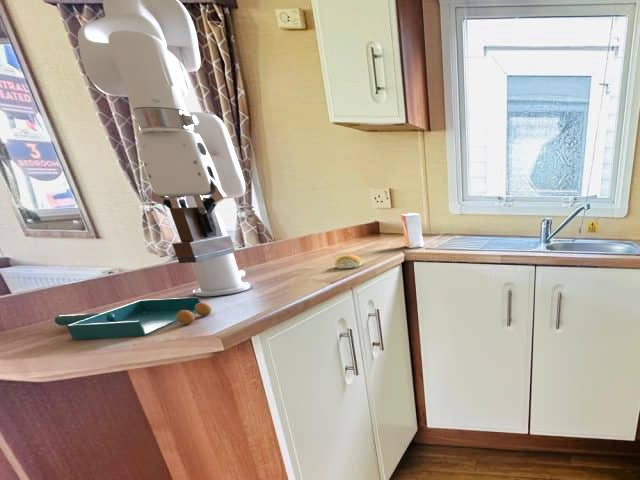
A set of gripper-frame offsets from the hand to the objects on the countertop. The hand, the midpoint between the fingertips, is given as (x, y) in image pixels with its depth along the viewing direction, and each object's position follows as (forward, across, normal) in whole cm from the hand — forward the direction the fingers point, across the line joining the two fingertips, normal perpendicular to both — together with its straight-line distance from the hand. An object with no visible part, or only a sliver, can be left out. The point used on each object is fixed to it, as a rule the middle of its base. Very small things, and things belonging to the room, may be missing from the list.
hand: (202, 236), depth 80 cm
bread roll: (+15, -10, -58) cm, 61 cm away
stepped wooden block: (+4, 0, 0) cm, 4 cm away
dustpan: (+16, +22, 0) cm, 27 cm away
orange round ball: (+16, +6, -3) cm, 17 cm away
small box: (+15, -26, -104) cm, 108 cm away
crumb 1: (+16, +6, +3) cm, 17 cm away
